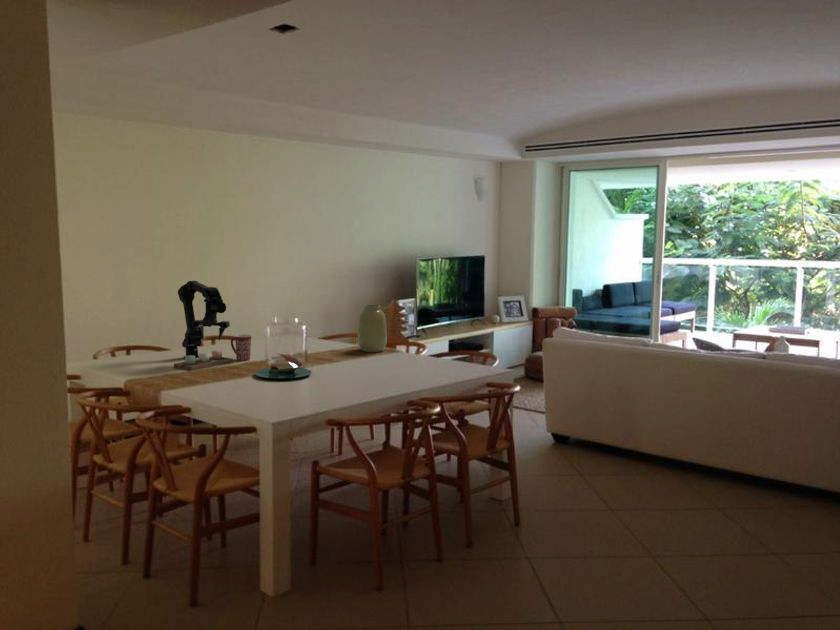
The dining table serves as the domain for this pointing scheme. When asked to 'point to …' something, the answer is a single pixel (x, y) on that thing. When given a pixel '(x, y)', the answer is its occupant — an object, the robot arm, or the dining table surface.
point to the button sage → (190, 360)
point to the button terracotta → (216, 355)
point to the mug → (242, 347)
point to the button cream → (203, 357)
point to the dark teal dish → (284, 370)
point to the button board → (203, 364)
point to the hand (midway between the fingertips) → (211, 339)
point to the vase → (372, 329)
